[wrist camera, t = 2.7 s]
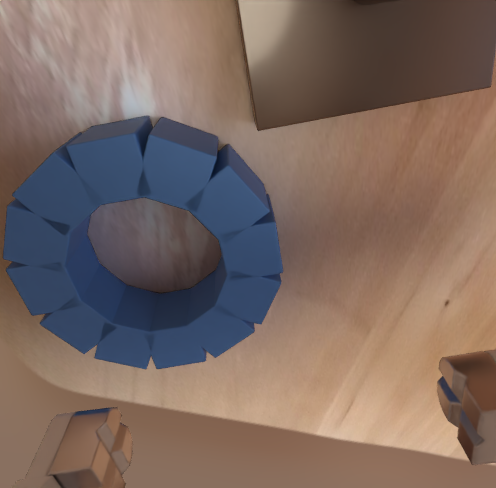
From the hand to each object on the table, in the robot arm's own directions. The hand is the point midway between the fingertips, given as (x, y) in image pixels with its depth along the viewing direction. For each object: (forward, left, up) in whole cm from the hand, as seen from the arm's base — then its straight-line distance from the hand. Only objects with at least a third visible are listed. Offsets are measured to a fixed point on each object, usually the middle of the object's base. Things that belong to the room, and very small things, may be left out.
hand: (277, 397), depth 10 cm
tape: (-5, 0, -10) cm, 11 cm away
